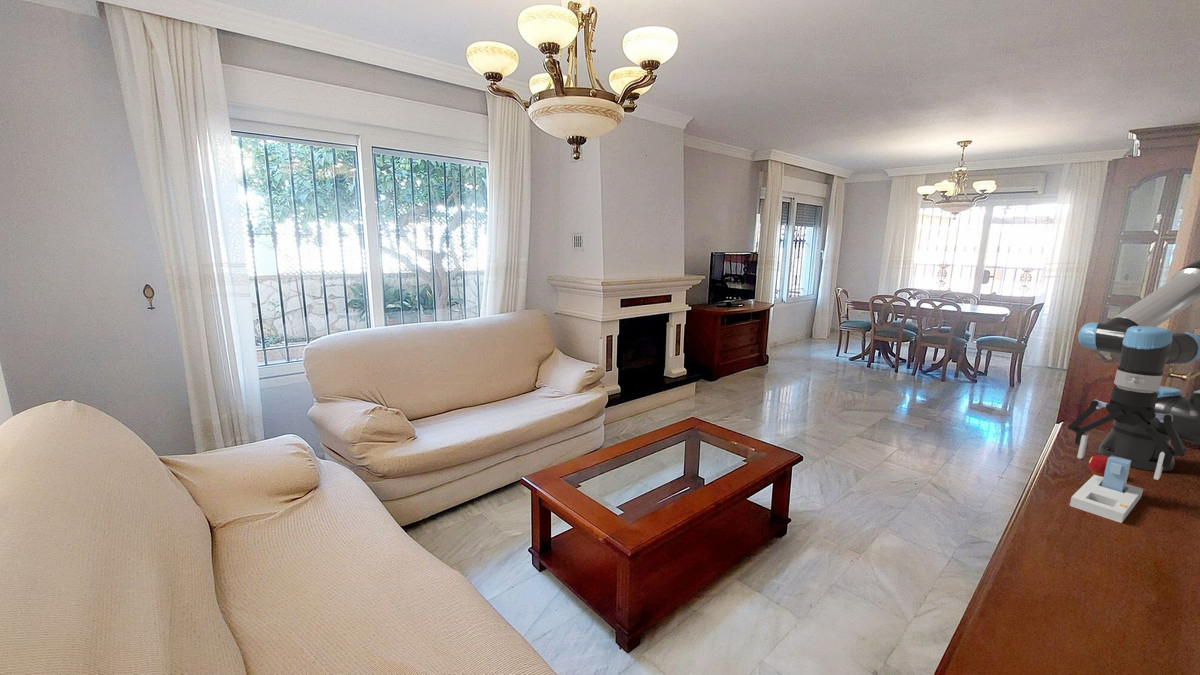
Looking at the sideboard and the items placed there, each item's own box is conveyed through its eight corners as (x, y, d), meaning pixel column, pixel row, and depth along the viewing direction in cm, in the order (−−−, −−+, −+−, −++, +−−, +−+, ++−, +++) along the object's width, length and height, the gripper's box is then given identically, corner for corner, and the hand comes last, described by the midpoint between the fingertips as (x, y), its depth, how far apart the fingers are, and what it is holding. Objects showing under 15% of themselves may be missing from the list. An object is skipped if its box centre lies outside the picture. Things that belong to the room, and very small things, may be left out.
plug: (1103, 489, 125) (1111, 455, 123) (1123, 495, 122) (1131, 460, 120) (1099, 494, 123) (1106, 459, 121) (1119, 500, 120) (1127, 464, 118)
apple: (1096, 483, 130) (1100, 461, 129) (1072, 469, 138) (1076, 448, 137) (1129, 484, 129) (1134, 463, 128) (1103, 470, 137) (1108, 450, 135)
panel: (1091, 484, 129) (1094, 473, 129) (1140, 499, 122) (1143, 487, 121) (1069, 507, 119) (1071, 496, 118) (1121, 525, 111) (1123, 513, 111)
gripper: (1062, 378, 125) (1047, 452, 130) (1214, 405, 105) (1190, 492, 109) (1071, 374, 129) (1056, 446, 134) (1219, 399, 109) (1195, 483, 113)
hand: (1116, 467), depth 121 cm, fingers open, 13 cm apart
